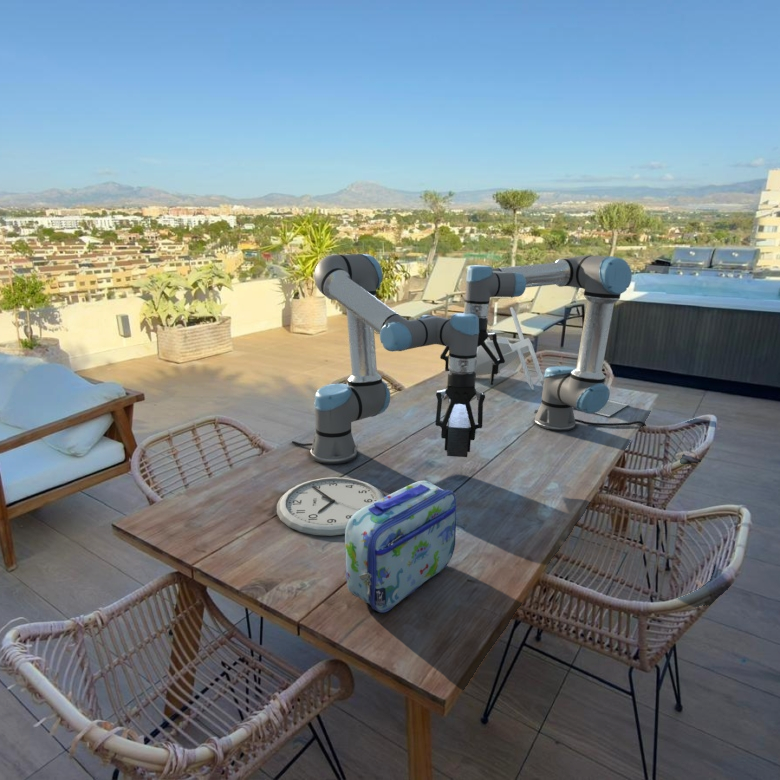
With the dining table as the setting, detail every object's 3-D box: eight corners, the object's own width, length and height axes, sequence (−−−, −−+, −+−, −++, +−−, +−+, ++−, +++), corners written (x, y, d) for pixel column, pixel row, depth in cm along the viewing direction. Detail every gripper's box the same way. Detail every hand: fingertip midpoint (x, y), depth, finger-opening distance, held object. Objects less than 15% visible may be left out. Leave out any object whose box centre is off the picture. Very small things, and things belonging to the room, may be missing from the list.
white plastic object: (480, 418, 266) (459, 395, 242) (461, 346, 288) (441, 318, 264) (550, 394, 254) (536, 368, 229) (526, 321, 276) (510, 289, 251)
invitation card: (608, 416, 214) (573, 407, 224) (608, 416, 214) (573, 408, 224) (628, 404, 229) (594, 396, 238) (628, 405, 229) (594, 397, 238)
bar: (448, 419, 173) (449, 394, 171) (465, 420, 173) (467, 395, 170) (446, 456, 146) (448, 426, 143) (467, 457, 145) (469, 428, 143)
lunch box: (374, 626, 100) (375, 530, 93) (338, 598, 107) (337, 508, 101) (459, 568, 117) (465, 484, 111) (424, 547, 124) (427, 467, 118)
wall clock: (392, 527, 129) (268, 531, 127) (391, 533, 130) (269, 537, 127) (383, 473, 158) (282, 475, 155) (383, 478, 158) (282, 480, 156)
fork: (440, 400, 230) (440, 396, 230) (449, 390, 245) (449, 386, 244) (446, 401, 230) (446, 396, 229) (454, 391, 244) (455, 387, 243)
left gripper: (426, 372, 140) (423, 452, 147) (497, 376, 138) (491, 457, 145) (428, 365, 147) (425, 442, 154) (495, 369, 145) (489, 446, 152)
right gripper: (435, 316, 160) (430, 382, 166) (518, 320, 157) (510, 388, 163) (436, 312, 167) (432, 376, 173) (515, 317, 164) (508, 381, 171)
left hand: (457, 449), depth 149 cm, fingers closed on bar, 6 cm apart
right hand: (470, 382), depth 168 cm, fingers open, 13 cm apart
